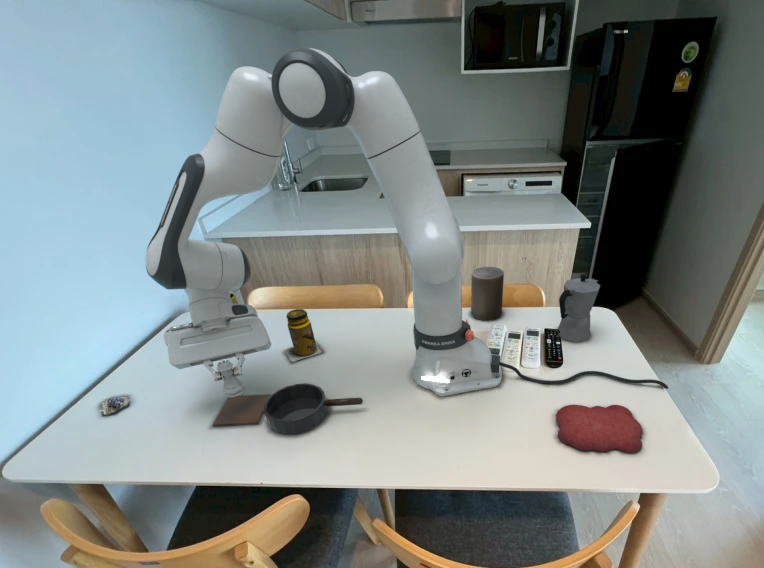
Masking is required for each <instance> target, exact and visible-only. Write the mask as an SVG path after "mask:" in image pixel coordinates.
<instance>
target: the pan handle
mask: <svg viewBox="0 0 764 568" xmlns="http://www.w3.org/2000/svg"><path fill="white" fill-rule="evenodd" d="M363 403H364V399H363V398H362V397H344V398H341V397H340V398H328V399H327V398H326V400H325V406H328V407H342V406H357V405H358V406H359V405H362V404H363Z"/></svg>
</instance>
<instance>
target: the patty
mask: <svg viewBox="0 0 764 568" xmlns="http://www.w3.org/2000/svg"><path fill="white" fill-rule="evenodd" d="M555 421H556V423H557V426H558V427H559V429H558V431H557V436H558V439H559V440H560V441H561V442H562V443H564V444H565V445H569V446H571V447H574V448H575V449H577V450H580V451H596V452H601V453H602V452H603V453H604V452H608V451H610V450H619V451H621V452H624V453H630V454H632V453H633V454H634V453H638V452H639V451H641V449H642V447H643V442H642V440H641V437H642V436H643V427H642V425H641V424H640V423H639V421H638V420H637V419H636V418H635V417H634V416H633V413H632V411H631V410H630V409H629V408H628V407H625V406H623V405H620V404H611V405H608V406H606V407H605V406H603V405H602V406H601V405H594V406H591V407H589V406H585V405H581V404H568V405H564V406H563V407H561V408H559V409H558V410H557V412H556V413H555Z"/></svg>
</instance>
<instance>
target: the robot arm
mask: <svg viewBox="0 0 764 568" xmlns="http://www.w3.org/2000/svg"><path fill="white" fill-rule="evenodd" d="M293 126H297V127H298V128H301V129H303V130H307V131H322V130H323V131H324V130H329V129H337V128H338V129H339V128H343V127H344V128H345V127H346V128H347V130H349V131H350V132H351V133H352V134H353V136H354V138H355V139H356V141H357V143H358V145H359V147H360V149H361V151H362V153H363V155H364V158H365V159H366V161H367V164H368V166H369V168H370V170H371V172H372V174H373V176H374V178H375V181H376V183H377V184H378V187H379V189H380V192H381V193H382V195H383V197H384V200H385V202H386V204H387V207H388V209H389V212H390V215H391V219H392V221H393V223H394V227H395V229H396V231H397V232H396V233H398V236H399V239H400V241H401V244H402V247H403V249H404V250H405V255H406V256H407V258H408V261H409V263H410V265H411V281H412V282H411V283H412V284H411V285H412V302H413V314H414V323H413V329H412V334H413V335H412V336H413V344H414V348H415V358H414V365H413V369H412V373H411V376H412V379H413V380H414V382H415V383H416V384H417V385H419V386H420V387H422V388H424V389H426V390H430V391H432V392H433V393H434V394H435V395H437V396H439V397H447V396H452V395H457V394H458V395H459V394H463V393H469V392H474V391H479V390H486V389H491V388H496V387H498V386H500V384H501V382H502V378H503V372H502V371H503V370H502V367H503V368H506V369H509V370H512V371H513V372H515V373H516V375H517V376H518V377H519V378H520V379H523V380H525V381H528V382H532V383H536V384H541V385H563V384H566V383H569V382H572V381H573V380H576V379H577V378H580V377H582V376H588V375H595V376H596V375H597V376H603V377H605V378H610V379H613V380H616V381H620V382H623V383H629V384H656V385H659V386H661V387H662V389H663V388H664V390H665V389H666V390H669V386H668V385H667V383H664V382H663V381H660V380H657V379H651V378H650V379H648V378H647V379H630V378H625V377H621V376H617V375H614V374H611V373H607V372H603V371H599V370H598V371H597V370H586V371H585V370H584V371H580V372H578V373H575V374H574V375H572V376H570V377H567V378H565V379H558V380H557V379H556V380H543V379H542V380H541V379H537V378H532V377H529V376H526V375H524V374H523V373H521V371H520V370H519V369H518V368H517V367H515V366H514V365H511V364H509V363H504V362H502V361H501V355H500V354H499V355H498V354H492V352H491V349H490V347H489V345H488V344H487V343H486V342H485V341H484V340H482V339H480V338H479V337H477V336H475V335H474V334H475V333H474V331H473V330H472V328H471V327H472V326H471V324H469V321H468V319H467V318H465V320H463V285H462V283H463V282H462V264H463V261H464V257H465V245H464V240H463V236H462V232H461V228H460V227H461V226H460V224H459V221H458V219H457V217H456V216H455V214H453V212H452V210H451V207H450V205H449V201H448V199H447V197H446V194H445V191H444V187H443V185H442V182H441V179H440V176H439V174H438V171H437V169H436V166H435V164H434V161H433V158H432V156H431V153H430V150H429V148H428V145H427V143H426V140H425V138H424V136H423V133H422V130H421V128H420V125H419V122H418V120H417V119H416V117H415V113H414V112H413V110H412V108H411V106H410V104H409V102H408V99H407V98H406V97H405V94H404V93H403V91H402V89H401V88H400V85H398V83H397V81H396V79H395V78H394V77H393V76H392V75H391V74H390V73H388V72H387V71H382V70H372V71H368V72H365V73H363V74H360V75H358V76H351V75H349V73H348V71H347V70H346V68H345V67H344V65H342V63H341V62H340V61H338V60H337V59H335V57H332V56H331V55H330V54H328V53H327V52H325V51H323V50H320V49H317V48H311V47H301V46H300V47H294V48H291V49H288V50H287V51H285V52H284V53H282V54H281V55H280V56H279V58H278V59H277V61H276V62H275V64H274V66H273V69H272V73H270V72H269V71H268V72H267V71H266V70H264V69H261V68H259V67H255V66H250V65H247V66H245V65H243V66H239V67H237V68H236V69H234V70H233V72H232V73H231V75H230V77H229V79H228V81H227V83H226V86H225V89H224V91H223V94H222V97H221V100H220V103H219V106H218V109H217V114H216V118H215V125H214V129H213V132H212V134H211V137H210V138H209V140H208V142H207V143H206V145H205V146H204V147H203V148H202V149H201V150H200V151H198V153H194V154H191V155H190V154H189V156H187V157H186V159H185V160H184V162H183V164H182V166H181V168H180V170H179V172H178V174H177V177H176V179H175V182H174V184H173V187H172V190H171V192H170V195H169V197H168V200H167V203H166V205H165V208H164V211H163V213H162V215H161V218H160V221H159V224H158V227H157V228H156V231H155V232H154V234H153V236H152V238H151V239H150V240H149V243H148V245H147V248H146V252H145V258H144V259H145V260H144V263H145V269H146V272H147V275H148V276H149V277H150V278H151V279H152V280H153V281H154V282H156V283H157V284H158V285H159V286H161V287H162V288H164V289H165V290H169V291H170V290H183V291H184V293H185V295H186V296H187V299H188V304H187V307H188V312H189V315H190V316H189V317H190V320H191V322H187V323H184V324H180V325H172V326H170V327H169V329H166V330H165V332H164V333H163V340H164V344H165V346H166V347H167V354H168V362H169V364H170V365H171V366H172V367H174V368H176V369H178V370H182V369H186V368H191V367H192V368H193V367H196V366H201V365H203V366H204V367H205V369H207V370H208V371H209V372H210V373H211V374H212V378H213V381H214V382H219V381H224V380H223V377H222V376H221V372H220V371H218V370H215V369H214V368H213V367H214V366H215V365H214V362H218V361H219V362H220V361H223V360H229V359H231V358H235V359H236V360H237V364H236V366H233V367H232V369H233V371H234V375H235V376H236V377H240V376H243V375H244V372H243V369H242V368H243V366H244V363H245V360H246V359H245V356H246V355H250V354H255V353H259V352H263V351H267V350H270V349H271V347H272V341H271V339H270V336H269V333H268V331H267V329H266V327H265V325H264V323H263V321H262V320H261V319H260V318H259V315H258V312H257V310H256V309H255V307H254V306H253V305H251V304H244V303H238V304H234V303H233V302H232V300H231V298H230V294H231V293H236V292H238V291H239V290H240V289H242V288H243V287H244V286H245V285H246V284H247V283H248V282H249V280H250V279H251V276H252V275H251V274H252V272H251V264H250V260H249V258H248V256H247V254H246V253H245V251H244V250H243V249H242V248H241V247H240V246H239V245H237V244H232V243H227V242H219V241H207V240H201V239H193V238H190V237H191V234H192V231H193V229H194V227H195V224H196V221H197V220H198V218H199V217H198V216H199V214H200V212H201V210H202V209H203V207H205V206H206V205H208V203H210V202H212V201H215V200H218V199H222V198H227V197H230V196H239V195H240V196H241V195H249V194H253V193H256V192H258V191H261V190H263V189H265V188H266V187H268V186H269V185H270V184H271V183H272V181H273V179H274V178H275V176H276V174H277V172H278V169H279V165H280V161H281V158H282V154H283V151H284V150H283V149H284V146H285V142H286V139H287V136H288V134H289V132H290V130H291V129H292V128H293Z"/></svg>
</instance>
